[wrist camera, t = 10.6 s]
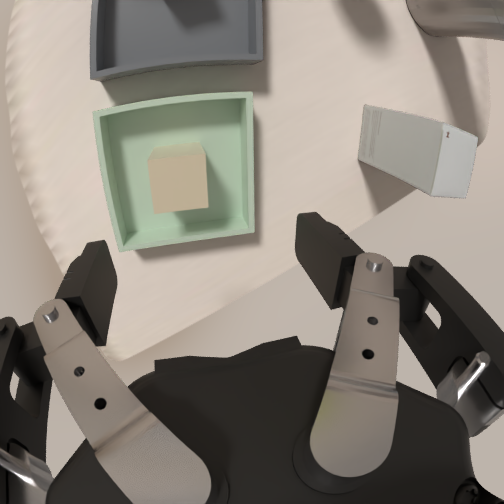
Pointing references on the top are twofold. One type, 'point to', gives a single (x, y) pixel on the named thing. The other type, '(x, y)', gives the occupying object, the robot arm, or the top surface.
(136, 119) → the pale green bin
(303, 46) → the top surface
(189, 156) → the sandstone block
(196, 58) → the dark grey bin
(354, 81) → the top surface
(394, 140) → the supplement box
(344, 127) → the top surface
